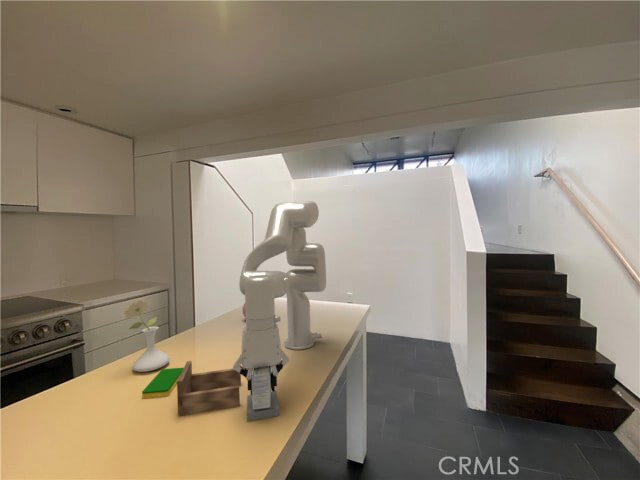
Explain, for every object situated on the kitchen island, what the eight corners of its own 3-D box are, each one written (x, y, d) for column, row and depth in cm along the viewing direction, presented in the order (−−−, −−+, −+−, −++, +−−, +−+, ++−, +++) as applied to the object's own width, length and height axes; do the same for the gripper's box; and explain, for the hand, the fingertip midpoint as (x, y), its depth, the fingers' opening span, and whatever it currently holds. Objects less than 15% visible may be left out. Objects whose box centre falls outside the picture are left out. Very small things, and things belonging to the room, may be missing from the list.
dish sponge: (184, 374, 93) (184, 367, 93) (168, 398, 80) (167, 389, 80) (162, 376, 92) (162, 368, 92) (141, 400, 79) (141, 391, 79)
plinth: (276, 397, 78) (276, 390, 78) (279, 415, 70) (279, 407, 70) (247, 402, 76) (247, 395, 76) (247, 421, 68) (246, 413, 68)
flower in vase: (164, 357, 106) (162, 292, 105) (174, 366, 98) (171, 296, 97) (123, 369, 97) (120, 298, 96) (130, 381, 89) (127, 304, 88)
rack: (240, 383, 86) (240, 354, 86) (239, 405, 74) (238, 372, 74) (188, 391, 82) (187, 361, 82) (178, 416, 71) (176, 381, 70)
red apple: (262, 323, 144) (262, 301, 144) (239, 324, 144) (239, 302, 144) (267, 316, 156) (266, 296, 156) (246, 317, 156) (245, 297, 156)
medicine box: (270, 408, 69) (269, 374, 68) (252, 410, 68) (251, 375, 68) (271, 390, 76) (270, 359, 76) (255, 392, 76) (254, 361, 76)
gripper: (290, 315, 78) (292, 378, 79) (227, 321, 74) (229, 388, 74) (294, 323, 71) (296, 393, 71) (225, 330, 67) (227, 404, 67)
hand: (262, 389), depth 73 cm, fingers closed on medicine box, 4 cm apart
